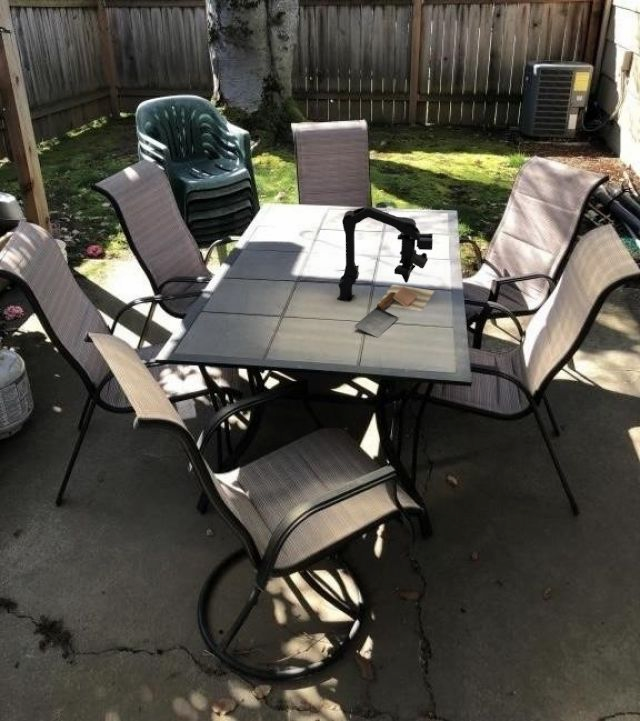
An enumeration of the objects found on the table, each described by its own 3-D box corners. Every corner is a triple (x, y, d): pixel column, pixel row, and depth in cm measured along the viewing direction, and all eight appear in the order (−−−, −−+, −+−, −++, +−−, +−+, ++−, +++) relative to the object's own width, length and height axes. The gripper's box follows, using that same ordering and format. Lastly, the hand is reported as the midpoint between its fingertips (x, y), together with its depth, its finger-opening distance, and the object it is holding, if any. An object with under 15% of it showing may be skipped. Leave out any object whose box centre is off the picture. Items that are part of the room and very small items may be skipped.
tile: (415, 298, 293) (406, 307, 286) (402, 289, 294) (392, 297, 287) (417, 295, 292) (408, 304, 285) (403, 286, 293) (394, 294, 286)
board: (421, 313, 283) (421, 311, 282) (377, 306, 290) (377, 304, 289) (434, 292, 300) (434, 290, 299) (392, 286, 307) (392, 284, 306)
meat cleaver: (378, 337, 265) (378, 329, 263) (353, 330, 270) (353, 322, 268) (413, 303, 289) (413, 295, 287) (390, 298, 294) (390, 290, 292)
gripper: (420, 259, 271) (418, 293, 279) (432, 243, 285) (429, 276, 293) (394, 255, 275) (393, 289, 283) (407, 240, 289) (405, 273, 297)
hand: (406, 282), depth 289 cm, fingers closed
